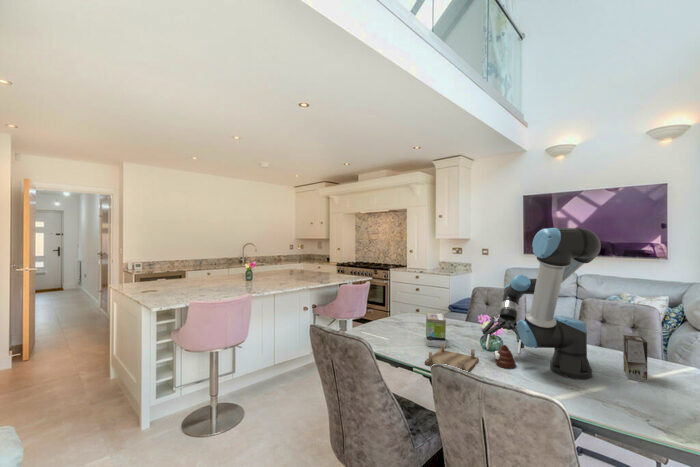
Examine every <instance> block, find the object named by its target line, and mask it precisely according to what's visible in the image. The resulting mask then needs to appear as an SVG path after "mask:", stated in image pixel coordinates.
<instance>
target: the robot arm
mask: <svg viewBox="0 0 700 467" xmlns="http://www.w3.org/2000/svg"><path fill="white" fill-rule="evenodd" d="M601 244H602V243H601V239H600V238H599V236H598V235H597V234H596V233H595V232H593V231H592V230H590V229H588V228H584V227H550V228H548V227H547V228H541V229H540V230H539V231H538V232H537V233H536V234H535V235H534V237H533V240H532V244H531V247H532V252H533V254H534V256H535V257H536V260H537V261H538V263H539V266H538V271H537V275H536V278H529V277H528V276H527V275H524V274H517V275H516V276H514V277H513V279H511V281H510V283H509V284H506V285H505V286H504V289H503V295H502V300H501V305H500V311H499V318H496V317H494V316H492V317H491V320H490V321H489V322H488V323H487V324H486V326H485V327H484V328H483V329H482V330H481V332H482V334H483V335H484V341H485V348H486V350H489V348H490V342H491V336H492V335H493V334H494V333H495V332H497V331H499V330H501V329H503V330H508V331H512V332H513V333H514V334H515V336H516V335H517V336H518V337H519V340H518V346H517V354H518V356H519V357H520V356H521V351H522V349H523V350H524V349H525V347H527V348H532V349H534V348H535V349H542V348H543V349H554V352H553V354H552V357H551V360H550V361H549V369H550V370H551V371H552V373H555V374H556V375H560V376H563V377H564V378H569V379H570V378H571V379H576V380H588V379H589V380H590V379H591V378H592V377H593V369H592V366H591V364H590V361H589V359H588V346H587V344H588V338H587V337H588V336H587V335H588V330H587V325H586V323H585V322H584V321H582V320H580V319H576V318H573V317H569V316H568V317H567V316H563V315H555V312H556V308H557V302H558V299H559V294H560V291H561V285H562V283H563V282H565V281H566V280H568V279H569V277H571V275H573V274H574V273H575V272H576V271H577V270H579V269H580V268H581V267H582V266H583V265H584V264H589V263H591V262H592V261H593V260H595V259H596V258H597V256H598V255H599V254H600V252H601V248H602V247H601ZM523 295H533V297H532V302H531V305H530V306H531V307H530V310H529V311H528V312H526V313H525V316H524V319H520V320H518V321H517V317H518V313H519V312H518V310H519V305H520V304H519V303H520V299H521V297H522V296H523ZM495 324H496V325H495Z"/></svg>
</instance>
